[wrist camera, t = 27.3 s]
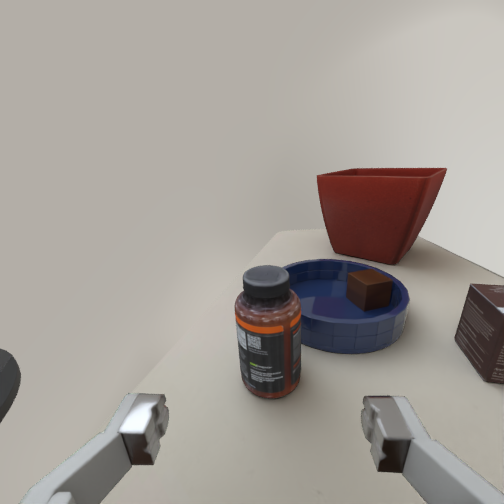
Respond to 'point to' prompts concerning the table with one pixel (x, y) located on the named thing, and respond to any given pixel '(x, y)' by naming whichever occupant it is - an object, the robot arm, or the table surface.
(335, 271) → the bowl
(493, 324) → the box
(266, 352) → the supplement bottle
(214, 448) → the table surface
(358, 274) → the block
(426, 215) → the flower pot
